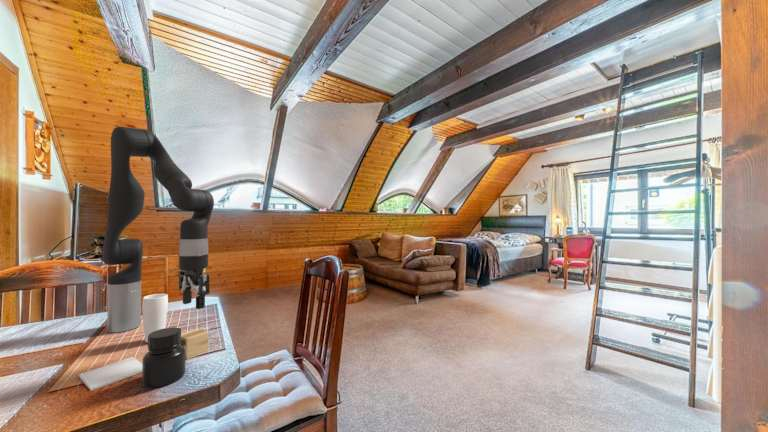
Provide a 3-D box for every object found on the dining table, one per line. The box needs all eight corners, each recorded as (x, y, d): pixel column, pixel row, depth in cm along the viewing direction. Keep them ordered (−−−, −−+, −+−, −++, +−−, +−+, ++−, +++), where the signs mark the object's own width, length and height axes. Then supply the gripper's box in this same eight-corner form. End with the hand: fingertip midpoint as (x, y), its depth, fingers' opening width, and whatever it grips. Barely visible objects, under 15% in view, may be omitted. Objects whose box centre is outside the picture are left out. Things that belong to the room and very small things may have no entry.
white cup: (153, 345, 91) (153, 299, 91) (136, 343, 92) (136, 298, 92) (172, 337, 97) (173, 294, 98) (156, 335, 99) (157, 292, 99)
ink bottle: (181, 365, 80) (182, 322, 80) (191, 376, 74) (192, 331, 74) (136, 380, 72) (136, 333, 72) (144, 394, 66) (144, 343, 66)
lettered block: (176, 354, 86) (176, 335, 86) (200, 346, 91) (200, 327, 91) (185, 360, 82) (186, 339, 82) (209, 351, 88) (209, 332, 88)
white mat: (78, 376, 73) (78, 374, 73) (132, 358, 83) (132, 356, 83) (90, 391, 67) (90, 388, 67) (147, 370, 77) (147, 367, 77)
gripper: (169, 253, 87) (169, 305, 87) (191, 256, 80) (190, 313, 80) (196, 250, 94) (195, 299, 94) (218, 253, 86) (218, 306, 86)
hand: (193, 305), depth 87 cm, fingers open, 8 cm apart
